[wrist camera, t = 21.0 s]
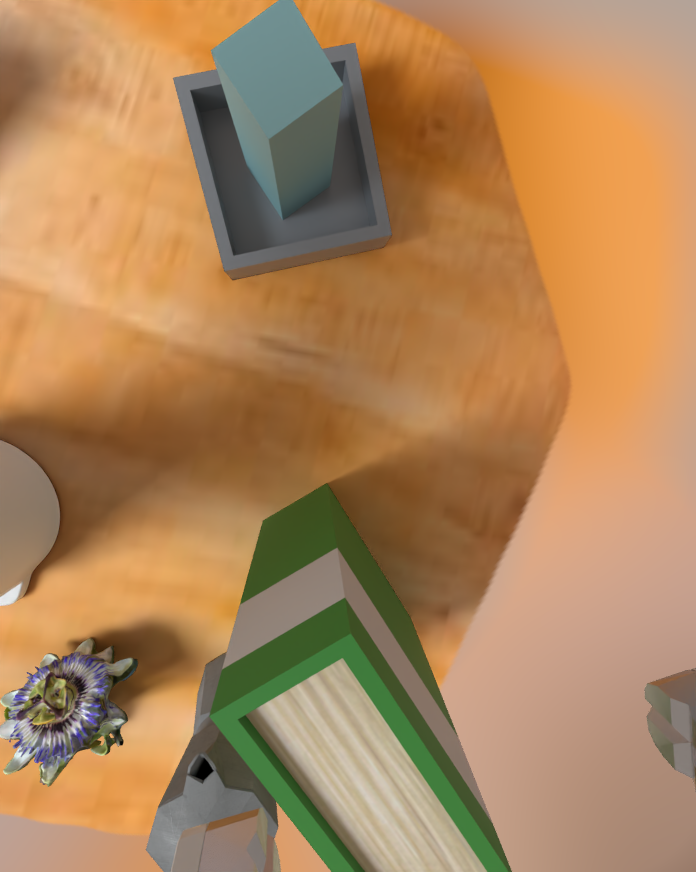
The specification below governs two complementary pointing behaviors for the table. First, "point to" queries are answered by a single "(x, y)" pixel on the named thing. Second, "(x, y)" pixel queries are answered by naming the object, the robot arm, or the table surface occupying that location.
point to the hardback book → (347, 706)
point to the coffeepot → (206, 781)
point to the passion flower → (65, 709)
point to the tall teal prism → (282, 104)
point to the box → (250, 207)
